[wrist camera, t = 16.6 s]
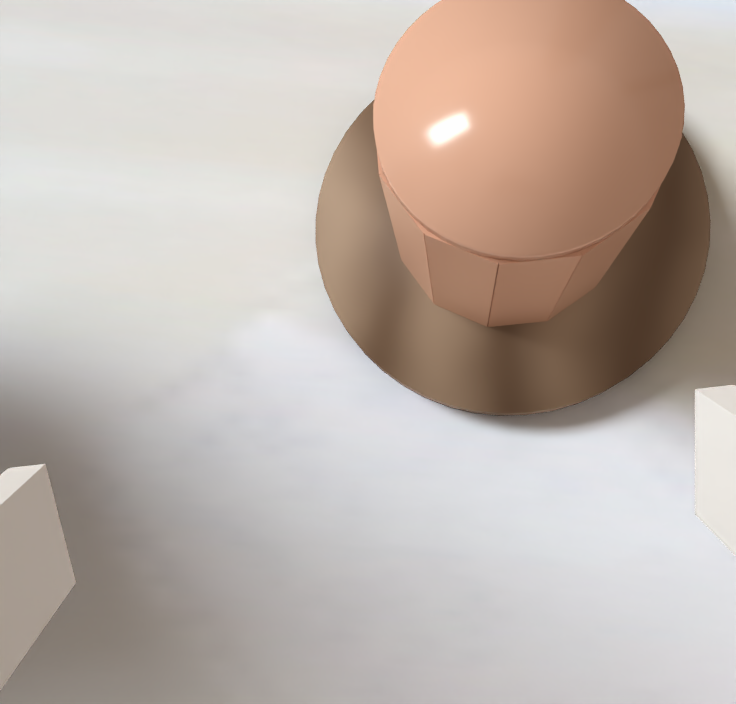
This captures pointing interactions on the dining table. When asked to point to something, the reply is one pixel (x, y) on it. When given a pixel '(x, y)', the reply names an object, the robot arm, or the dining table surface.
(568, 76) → the tan domed cylinder
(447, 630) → the dining table surface
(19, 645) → the robot arm
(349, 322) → the walnut board
